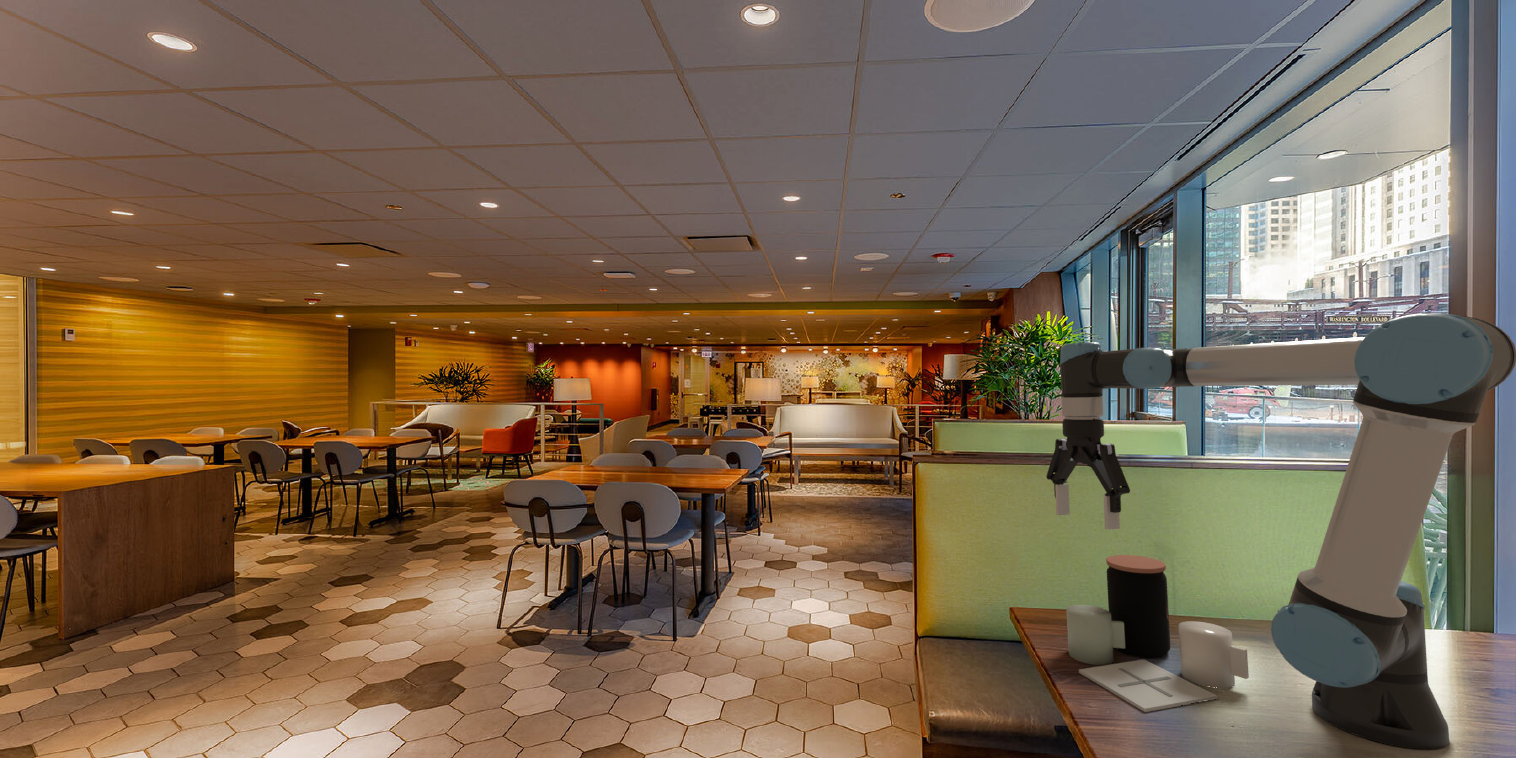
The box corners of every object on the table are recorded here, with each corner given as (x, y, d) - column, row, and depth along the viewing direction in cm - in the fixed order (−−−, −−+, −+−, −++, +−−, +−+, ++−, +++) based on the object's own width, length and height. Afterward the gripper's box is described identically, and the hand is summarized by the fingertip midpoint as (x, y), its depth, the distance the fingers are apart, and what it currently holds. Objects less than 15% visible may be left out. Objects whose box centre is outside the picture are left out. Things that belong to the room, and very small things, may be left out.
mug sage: (1072, 662, 120) (1070, 617, 120) (1065, 646, 127) (1063, 603, 127) (1131, 667, 117) (1128, 621, 117) (1119, 650, 124) (1117, 606, 124)
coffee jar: (1183, 658, 119) (1178, 568, 120) (1129, 660, 120) (1124, 569, 120) (1149, 637, 130) (1145, 553, 131) (1099, 638, 130) (1095, 555, 131)
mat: (1217, 699, 104) (1217, 695, 104) (1145, 712, 101) (1144, 708, 101) (1144, 662, 118) (1143, 658, 118) (1079, 672, 115) (1078, 669, 115)
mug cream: (1173, 676, 113) (1170, 627, 113) (1192, 664, 117) (1189, 618, 117) (1239, 698, 104) (1236, 645, 104) (1257, 684, 108) (1254, 634, 109)
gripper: (1149, 419, 112) (1153, 533, 112) (1056, 414, 136) (1059, 508, 136) (1114, 421, 110) (1119, 537, 110) (1027, 416, 135) (1030, 510, 134)
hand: (1086, 521), depth 123 cm, fingers open, 13 cm apart
